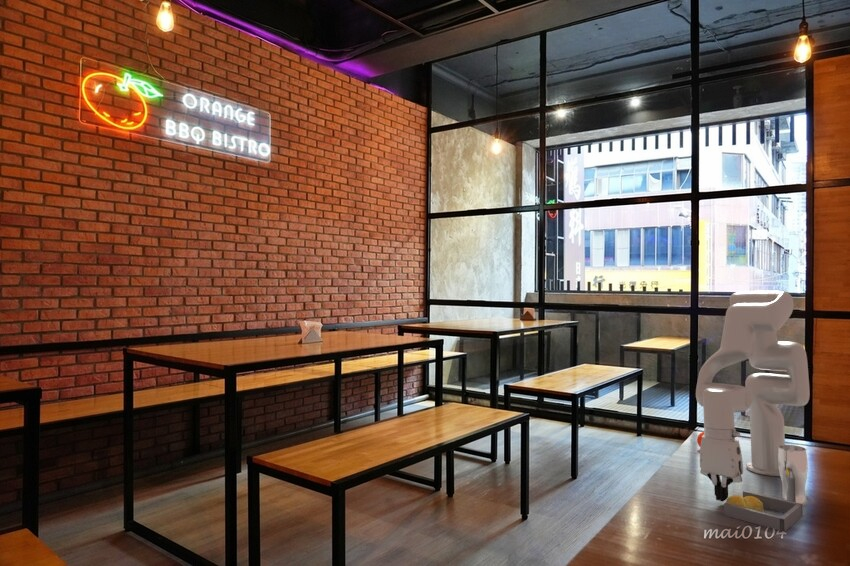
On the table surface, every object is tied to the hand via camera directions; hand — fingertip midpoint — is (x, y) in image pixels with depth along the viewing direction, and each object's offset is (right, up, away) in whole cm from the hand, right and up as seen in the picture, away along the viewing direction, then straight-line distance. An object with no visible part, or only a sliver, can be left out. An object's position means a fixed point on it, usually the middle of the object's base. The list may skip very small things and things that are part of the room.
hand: (721, 499), depth 153 cm
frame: (+7, -1, -8) cm, 10 cm away
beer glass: (+21, -1, +1) cm, 21 cm away
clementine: (+22, -2, +51) cm, 56 cm away
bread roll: (+4, -2, -4) cm, 6 cm away
